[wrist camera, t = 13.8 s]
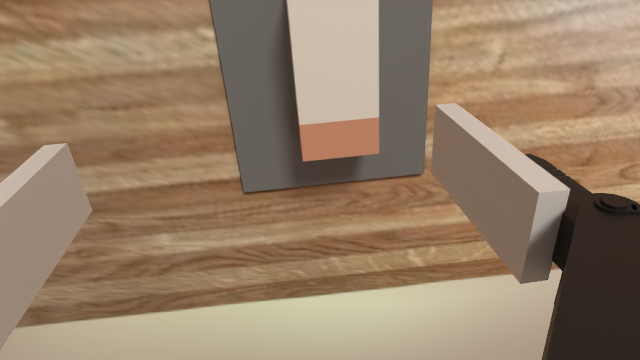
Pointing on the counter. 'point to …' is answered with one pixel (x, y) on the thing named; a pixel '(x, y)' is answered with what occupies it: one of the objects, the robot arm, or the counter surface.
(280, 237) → the counter surface
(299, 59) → the pink tipped block
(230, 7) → the mat
